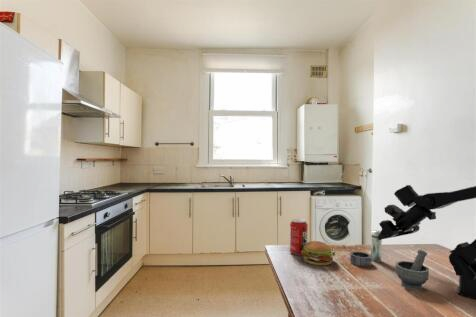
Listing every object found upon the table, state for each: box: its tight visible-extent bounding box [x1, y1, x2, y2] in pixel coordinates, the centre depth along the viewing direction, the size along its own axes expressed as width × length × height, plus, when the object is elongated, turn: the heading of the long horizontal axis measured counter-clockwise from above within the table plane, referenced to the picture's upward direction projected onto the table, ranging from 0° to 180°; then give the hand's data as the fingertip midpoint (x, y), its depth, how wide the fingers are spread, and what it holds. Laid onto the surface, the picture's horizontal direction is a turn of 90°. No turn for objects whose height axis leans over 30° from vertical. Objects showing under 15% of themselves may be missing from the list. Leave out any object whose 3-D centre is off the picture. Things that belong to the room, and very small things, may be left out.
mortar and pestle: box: [395, 249, 430, 292], centre depth 94 cm, size 11×9×12 cm
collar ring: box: [349, 250, 373, 268], centre depth 114 cm, size 8×8×4 cm
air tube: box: [370, 229, 383, 263], centre depth 118 cm, size 4×4×12 cm
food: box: [301, 240, 336, 267], centre depth 116 cm, size 14×14×8 cm
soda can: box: [289, 218, 309, 256], centre depth 125 cm, size 8×8×15 cm
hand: (385, 237), depth 114 cm, fingers open, 9 cm apart
